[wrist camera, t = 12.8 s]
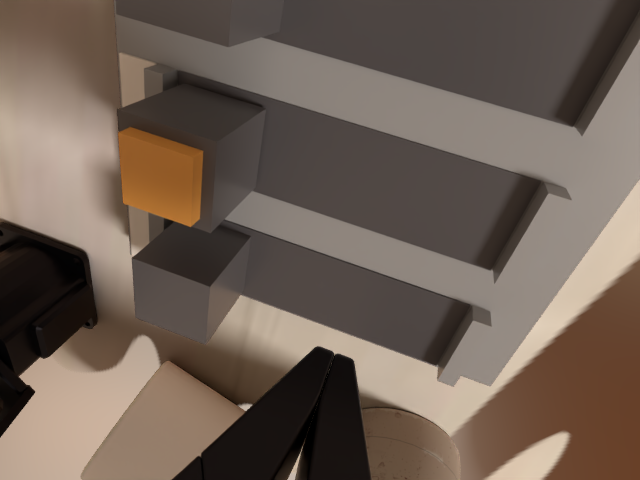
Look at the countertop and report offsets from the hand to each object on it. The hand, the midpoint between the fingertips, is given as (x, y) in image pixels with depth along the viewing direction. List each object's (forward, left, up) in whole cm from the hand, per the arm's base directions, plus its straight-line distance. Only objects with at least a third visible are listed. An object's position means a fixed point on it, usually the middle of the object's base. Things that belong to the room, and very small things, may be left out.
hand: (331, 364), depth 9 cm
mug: (-7, -23, -11) cm, 27 cm away
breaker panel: (-2, 0, -11) cm, 11 cm away
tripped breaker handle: (-7, 0, -9) cm, 12 cm away
